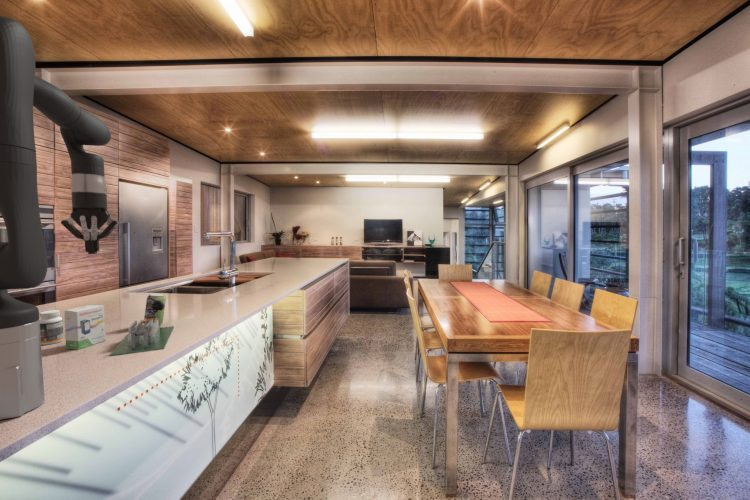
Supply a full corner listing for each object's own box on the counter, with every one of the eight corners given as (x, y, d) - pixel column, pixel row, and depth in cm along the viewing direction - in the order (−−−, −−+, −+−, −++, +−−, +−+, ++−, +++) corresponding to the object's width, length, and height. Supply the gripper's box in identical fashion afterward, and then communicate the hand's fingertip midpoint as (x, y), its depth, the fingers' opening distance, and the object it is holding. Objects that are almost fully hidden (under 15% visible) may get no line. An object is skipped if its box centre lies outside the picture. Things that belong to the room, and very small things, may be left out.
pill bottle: (35, 343, 106) (33, 312, 106) (59, 338, 111) (57, 308, 111) (43, 346, 104) (41, 314, 103) (67, 341, 109) (65, 310, 108)
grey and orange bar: (146, 335, 101) (146, 332, 101) (131, 336, 99) (131, 333, 99) (156, 320, 118) (156, 317, 118) (144, 321, 117) (144, 318, 116)
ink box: (93, 339, 110) (91, 304, 109) (106, 340, 109) (104, 304, 108) (64, 349, 101) (62, 310, 100) (78, 350, 100) (76, 311, 99)
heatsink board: (164, 348, 101) (163, 328, 100) (110, 355, 95) (109, 334, 95) (173, 327, 123) (173, 310, 123) (130, 331, 118) (130, 314, 118)
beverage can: (145, 324, 127) (144, 293, 127) (168, 322, 130) (166, 291, 130) (142, 328, 122) (140, 296, 121) (165, 326, 125) (164, 294, 124)
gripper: (52, 189, 88) (56, 255, 89) (114, 191, 93) (118, 253, 94) (64, 192, 94) (67, 253, 95) (121, 194, 100) (124, 252, 101)
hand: (92, 253), depth 95 cm, fingers closed
